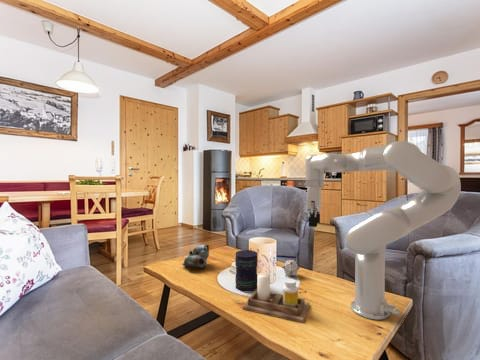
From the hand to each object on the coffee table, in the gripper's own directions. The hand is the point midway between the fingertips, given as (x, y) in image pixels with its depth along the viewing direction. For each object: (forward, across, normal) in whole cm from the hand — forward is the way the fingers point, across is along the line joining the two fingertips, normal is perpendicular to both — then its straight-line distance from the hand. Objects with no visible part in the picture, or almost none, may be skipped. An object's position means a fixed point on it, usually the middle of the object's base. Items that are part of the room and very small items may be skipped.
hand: (314, 224), depth 109 cm
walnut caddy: (+28, +20, -11) cm, 36 cm away
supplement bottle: (+28, +20, -6) cm, 34 cm away
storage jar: (+28, +8, -28) cm, 41 cm away
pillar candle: (+28, +20, -16) cm, 38 cm away
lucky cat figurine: (+29, -5, -63) cm, 70 cm away
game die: (+28, -13, -13) cm, 34 cm away
